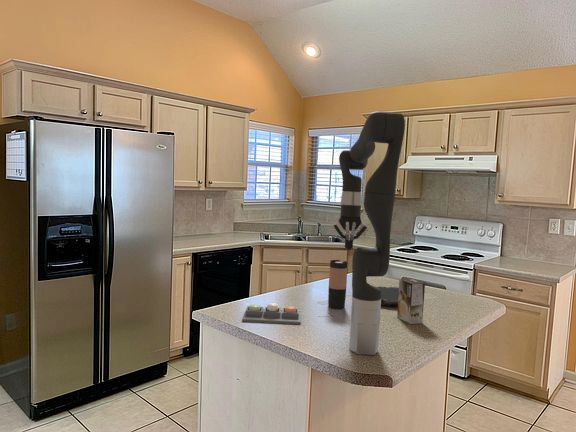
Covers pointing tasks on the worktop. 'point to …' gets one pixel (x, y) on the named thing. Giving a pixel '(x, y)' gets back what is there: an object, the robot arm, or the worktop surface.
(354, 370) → the worktop surface
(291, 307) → the terracotta button
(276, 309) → the cream button
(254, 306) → the sage button
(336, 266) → the travel mug
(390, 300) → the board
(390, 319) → the worktop surface
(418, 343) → the worktop surface
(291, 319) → the button panel
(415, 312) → the coffee box
